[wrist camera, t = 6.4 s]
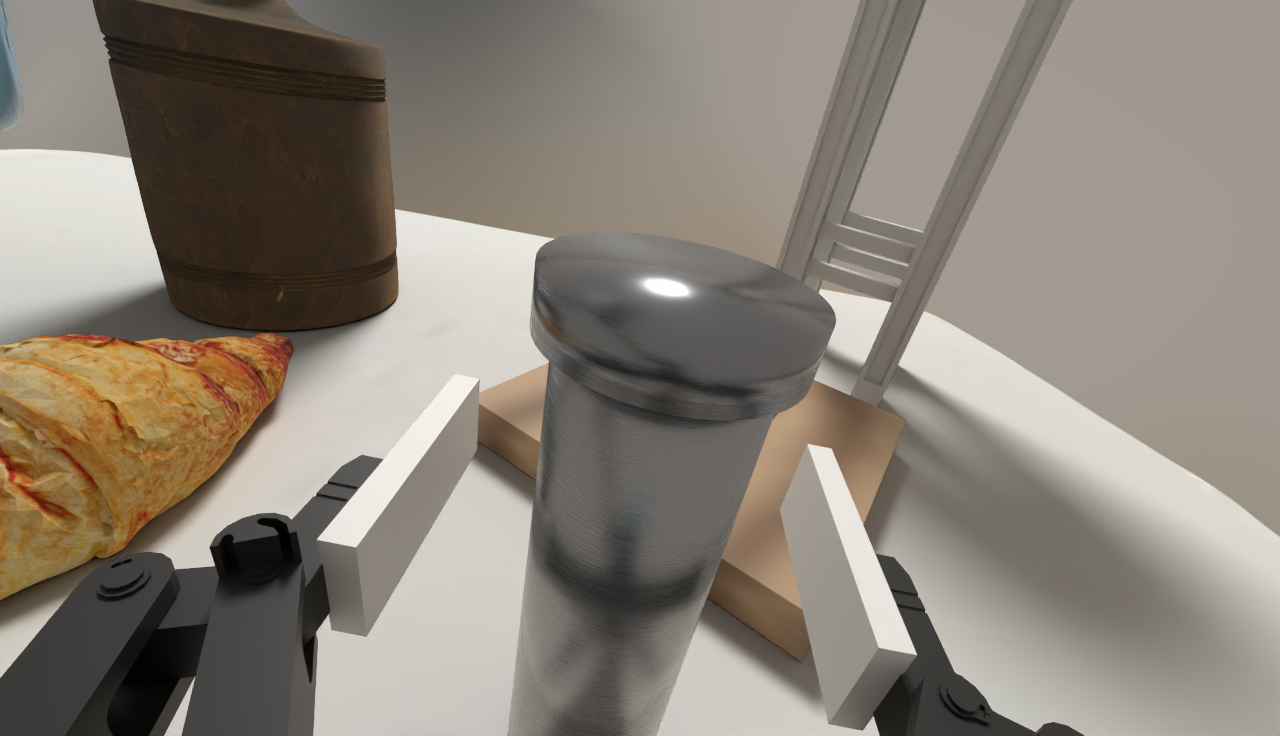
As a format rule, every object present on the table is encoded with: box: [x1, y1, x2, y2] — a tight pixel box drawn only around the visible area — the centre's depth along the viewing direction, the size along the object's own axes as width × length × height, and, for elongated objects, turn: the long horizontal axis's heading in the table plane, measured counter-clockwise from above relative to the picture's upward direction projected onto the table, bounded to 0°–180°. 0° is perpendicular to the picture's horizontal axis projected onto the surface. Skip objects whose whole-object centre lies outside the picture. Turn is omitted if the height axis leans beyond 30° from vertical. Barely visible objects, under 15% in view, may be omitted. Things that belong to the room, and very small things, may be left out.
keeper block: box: [477, 363, 906, 662], centre depth 32 cm, size 20×20×2 cm
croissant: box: [0, 333, 294, 600], centre depth 20 cm, size 21×10×8 cm, turn 167°
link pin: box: [508, 232, 836, 736], centre depth 13 cm, size 5×5×16 cm
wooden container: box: [93, 0, 398, 331], centre depth 35 cm, size 15×15×22 cm
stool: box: [775, 0, 1073, 407], centre depth 40 cm, size 16×16×35 cm
